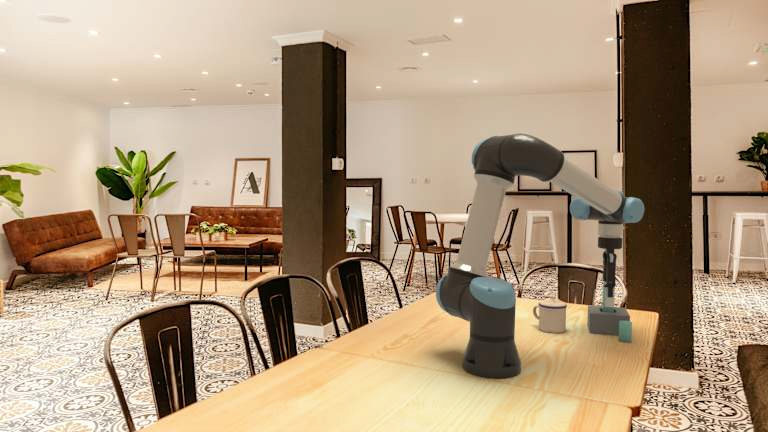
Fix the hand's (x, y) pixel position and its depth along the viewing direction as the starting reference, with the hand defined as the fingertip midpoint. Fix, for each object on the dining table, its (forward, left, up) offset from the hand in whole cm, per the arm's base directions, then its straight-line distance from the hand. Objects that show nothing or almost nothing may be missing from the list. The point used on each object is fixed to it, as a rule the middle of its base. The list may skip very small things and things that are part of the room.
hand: (608, 303), depth 177 cm
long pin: (0, 0, -9) cm, 9 cm away
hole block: (0, 0, -9) cm, 9 cm away
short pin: (-12, -4, -9) cm, 15 cm away
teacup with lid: (-5, +19, -9) cm, 22 cm away
